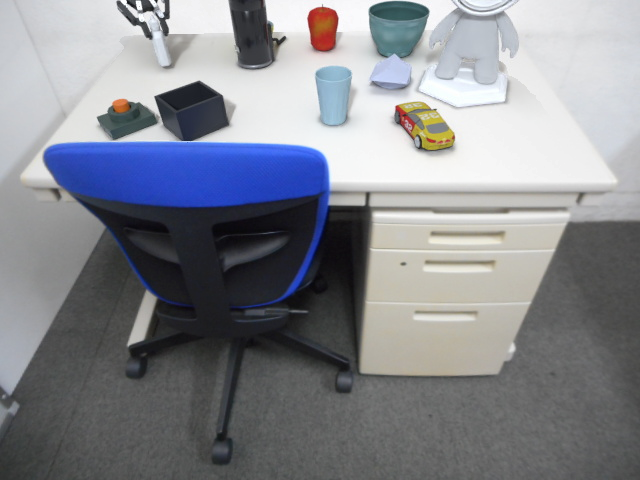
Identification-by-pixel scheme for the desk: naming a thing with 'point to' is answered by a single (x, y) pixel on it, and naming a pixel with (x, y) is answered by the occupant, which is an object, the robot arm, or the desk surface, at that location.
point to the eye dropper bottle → (159, 43)
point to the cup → (333, 93)
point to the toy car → (424, 125)
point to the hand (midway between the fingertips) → (158, 36)
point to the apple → (323, 27)
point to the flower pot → (397, 26)
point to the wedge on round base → (391, 73)
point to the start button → (121, 105)
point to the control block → (126, 120)
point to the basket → (192, 110)
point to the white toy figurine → (471, 54)
